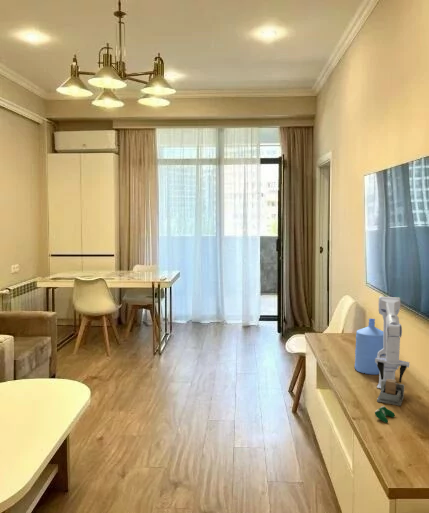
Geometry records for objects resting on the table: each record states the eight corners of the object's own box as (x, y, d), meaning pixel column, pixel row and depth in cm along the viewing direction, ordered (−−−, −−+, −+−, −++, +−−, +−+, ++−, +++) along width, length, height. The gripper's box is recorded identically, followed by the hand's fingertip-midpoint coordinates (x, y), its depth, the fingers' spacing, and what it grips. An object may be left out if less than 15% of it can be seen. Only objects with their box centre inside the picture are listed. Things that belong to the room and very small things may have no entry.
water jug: (388, 375, 263) (391, 322, 260) (358, 374, 263) (361, 322, 261) (379, 366, 278) (382, 316, 276) (351, 365, 279) (353, 315, 276)
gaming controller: (389, 419, 211) (380, 407, 214) (396, 415, 209) (386, 402, 212) (381, 426, 204) (371, 413, 207) (387, 421, 202) (378, 408, 205)
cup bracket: (381, 393, 236) (381, 380, 236) (403, 397, 232) (404, 384, 231) (376, 401, 226) (377, 388, 225) (400, 405, 221) (401, 392, 221)
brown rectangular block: (386, 395, 231) (387, 378, 230) (395, 397, 229) (396, 380, 228) (385, 398, 227) (385, 381, 226) (394, 400, 225) (395, 382, 225)
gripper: (374, 350, 226) (373, 380, 227) (408, 355, 219) (407, 385, 220) (377, 347, 232) (375, 375, 233) (410, 351, 225) (409, 381, 227)
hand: (391, 380), depth 227 cm, fingers open, 7 cm apart
